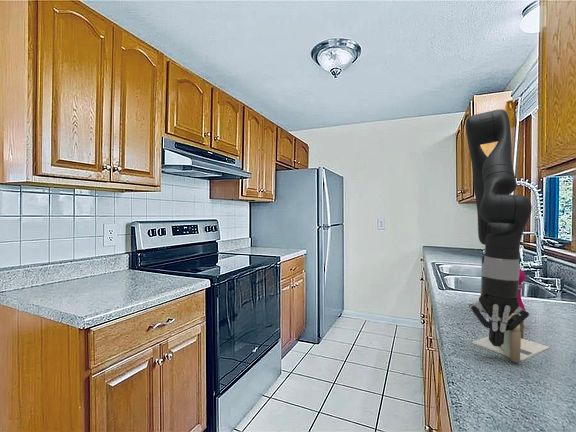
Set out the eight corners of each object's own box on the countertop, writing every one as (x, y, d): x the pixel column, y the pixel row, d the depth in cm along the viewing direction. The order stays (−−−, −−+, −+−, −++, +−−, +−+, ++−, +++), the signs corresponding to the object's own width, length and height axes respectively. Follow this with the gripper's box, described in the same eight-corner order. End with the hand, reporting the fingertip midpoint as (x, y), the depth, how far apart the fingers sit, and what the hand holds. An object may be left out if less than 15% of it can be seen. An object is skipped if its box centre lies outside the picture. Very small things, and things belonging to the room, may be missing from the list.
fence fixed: (515, 334, 96) (516, 308, 96) (524, 337, 94) (526, 310, 94) (491, 343, 89) (492, 315, 88) (500, 346, 86) (502, 317, 86)
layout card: (501, 332, 97) (501, 331, 97) (549, 348, 87) (549, 346, 87) (471, 343, 88) (471, 341, 88) (521, 361, 78) (521, 359, 78)
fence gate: (496, 343, 87) (497, 318, 87) (504, 344, 86) (505, 319, 86) (511, 361, 76) (512, 332, 76) (521, 362, 76) (522, 333, 76)
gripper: (523, 275, 81) (519, 342, 82) (466, 270, 85) (462, 335, 85) (539, 281, 74) (534, 355, 75) (475, 276, 77) (471, 347, 78)
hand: (495, 345), depth 80 cm, fingers closed
